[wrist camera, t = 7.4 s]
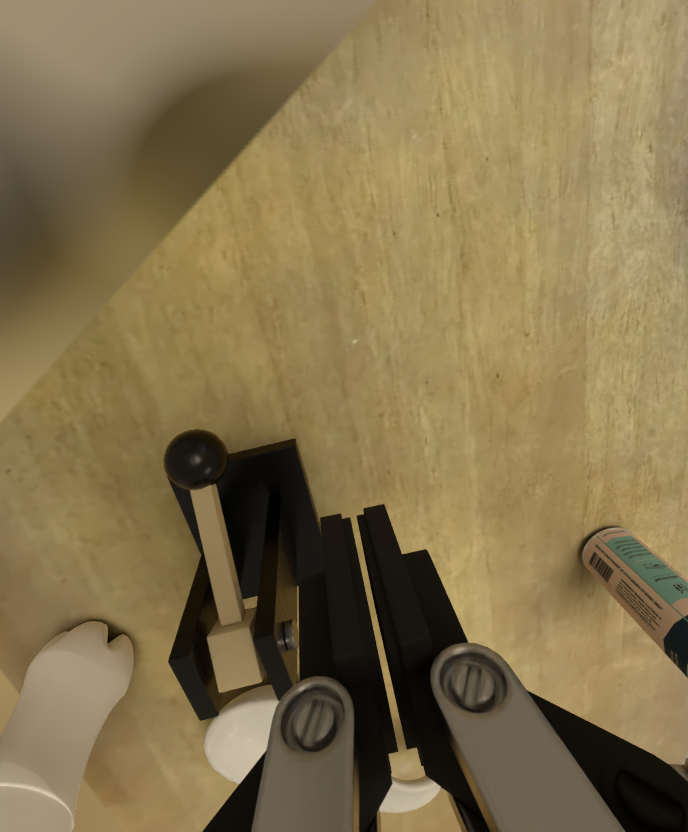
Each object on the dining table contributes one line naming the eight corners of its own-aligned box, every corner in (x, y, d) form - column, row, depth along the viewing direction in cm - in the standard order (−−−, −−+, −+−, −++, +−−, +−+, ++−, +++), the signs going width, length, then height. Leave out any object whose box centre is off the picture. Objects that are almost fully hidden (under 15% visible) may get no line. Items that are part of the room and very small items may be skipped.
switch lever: (172, 436, 23) (146, 437, 20) (228, 423, 23) (210, 422, 20) (224, 664, 23) (205, 702, 20) (280, 650, 23) (271, 685, 20)
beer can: (593, 576, 38) (717, 712, 27) (568, 547, 36) (690, 677, 25) (638, 546, 37) (786, 671, 26) (616, 513, 35) (763, 633, 24)
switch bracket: (171, 467, 29) (87, 612, 18) (295, 438, 30) (295, 561, 18) (225, 593, 34) (186, 775, 22) (332, 566, 34) (351, 733, 22)
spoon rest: (201, 741, 40) (182, 838, 33) (222, 654, 36) (205, 743, 30) (426, 754, 45) (449, 841, 38) (465, 677, 41) (499, 760, 34)
